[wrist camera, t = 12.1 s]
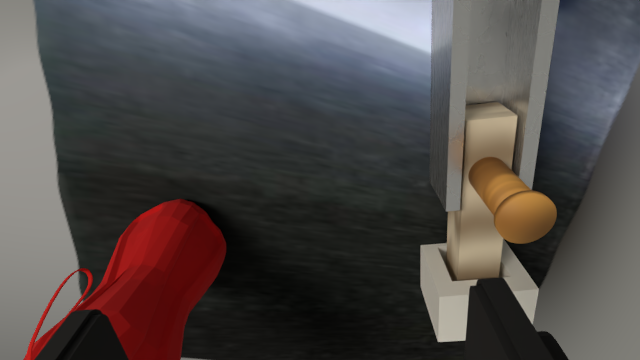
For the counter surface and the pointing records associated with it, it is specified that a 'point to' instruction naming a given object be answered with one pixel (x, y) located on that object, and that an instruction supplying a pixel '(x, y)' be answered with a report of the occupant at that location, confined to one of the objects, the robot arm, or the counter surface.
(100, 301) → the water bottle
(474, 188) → the slip bar
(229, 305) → the counter surface
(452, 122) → the channel sleeve
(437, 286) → the socket block
